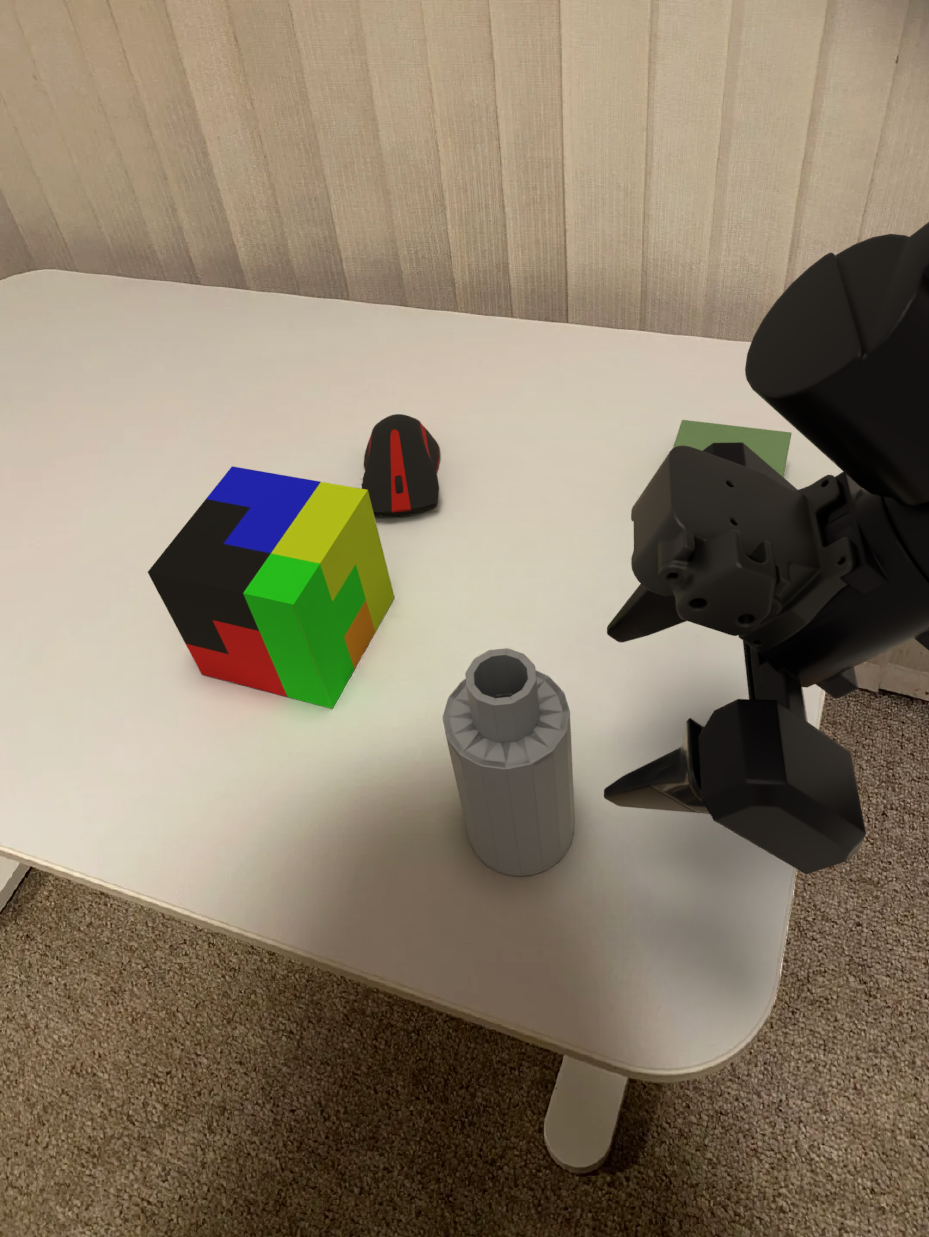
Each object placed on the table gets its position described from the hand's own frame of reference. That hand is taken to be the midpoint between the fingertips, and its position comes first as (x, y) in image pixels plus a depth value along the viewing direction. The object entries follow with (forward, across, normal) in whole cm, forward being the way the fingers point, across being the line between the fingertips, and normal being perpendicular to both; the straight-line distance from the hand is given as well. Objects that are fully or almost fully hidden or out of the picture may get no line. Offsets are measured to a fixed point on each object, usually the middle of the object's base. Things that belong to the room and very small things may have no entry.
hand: (611, 711), depth 43 cm
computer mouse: (+20, -30, -4) cm, 37 cm away
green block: (+2, -28, +14) cm, 32 cm away
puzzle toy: (+23, -14, -7) cm, 28 cm away
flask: (+12, 0, +5) cm, 12 cm away
